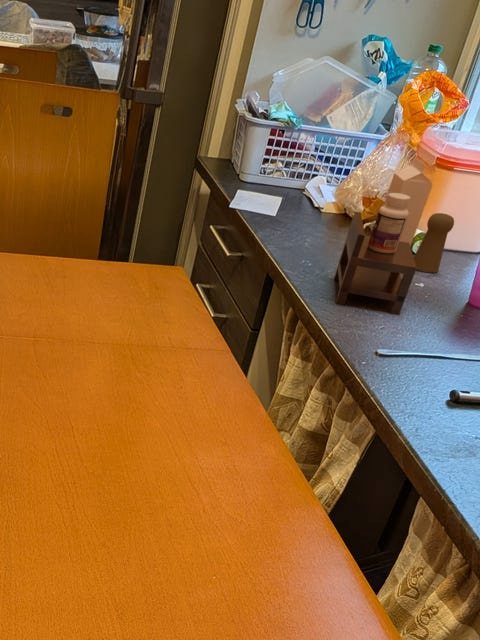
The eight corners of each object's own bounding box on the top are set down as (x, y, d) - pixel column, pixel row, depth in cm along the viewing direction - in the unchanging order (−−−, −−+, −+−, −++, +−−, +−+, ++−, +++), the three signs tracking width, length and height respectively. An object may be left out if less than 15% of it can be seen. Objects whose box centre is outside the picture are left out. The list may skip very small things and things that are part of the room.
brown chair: (392, 288, 190) (416, 221, 182) (398, 315, 178) (425, 245, 170) (333, 277, 192) (354, 211, 183) (335, 304, 180) (358, 234, 171)
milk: (370, 277, 194) (409, 163, 180) (362, 268, 199) (399, 155, 185) (399, 280, 194) (439, 165, 180) (390, 270, 199) (429, 158, 185)
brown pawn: (417, 261, 206) (436, 208, 199) (443, 269, 203) (463, 216, 196) (405, 265, 203) (424, 212, 195) (430, 274, 199) (451, 220, 192)
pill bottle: (372, 243, 182) (389, 189, 176) (399, 250, 180) (417, 196, 174) (363, 248, 178) (380, 194, 172) (390, 256, 176) (409, 201, 170)
